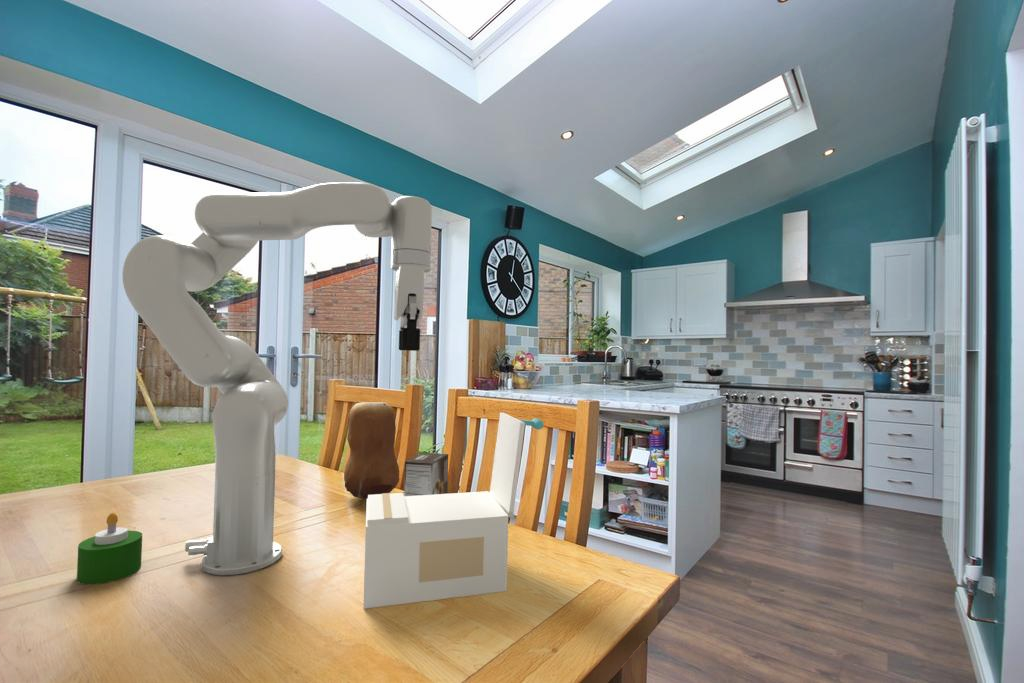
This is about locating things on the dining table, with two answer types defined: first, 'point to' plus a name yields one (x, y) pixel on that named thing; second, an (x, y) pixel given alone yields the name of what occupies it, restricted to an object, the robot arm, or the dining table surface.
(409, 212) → the robot arm
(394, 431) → the butternut squash
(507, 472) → the flap
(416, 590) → the carton
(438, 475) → the coffee box
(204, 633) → the dining table surface
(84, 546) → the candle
